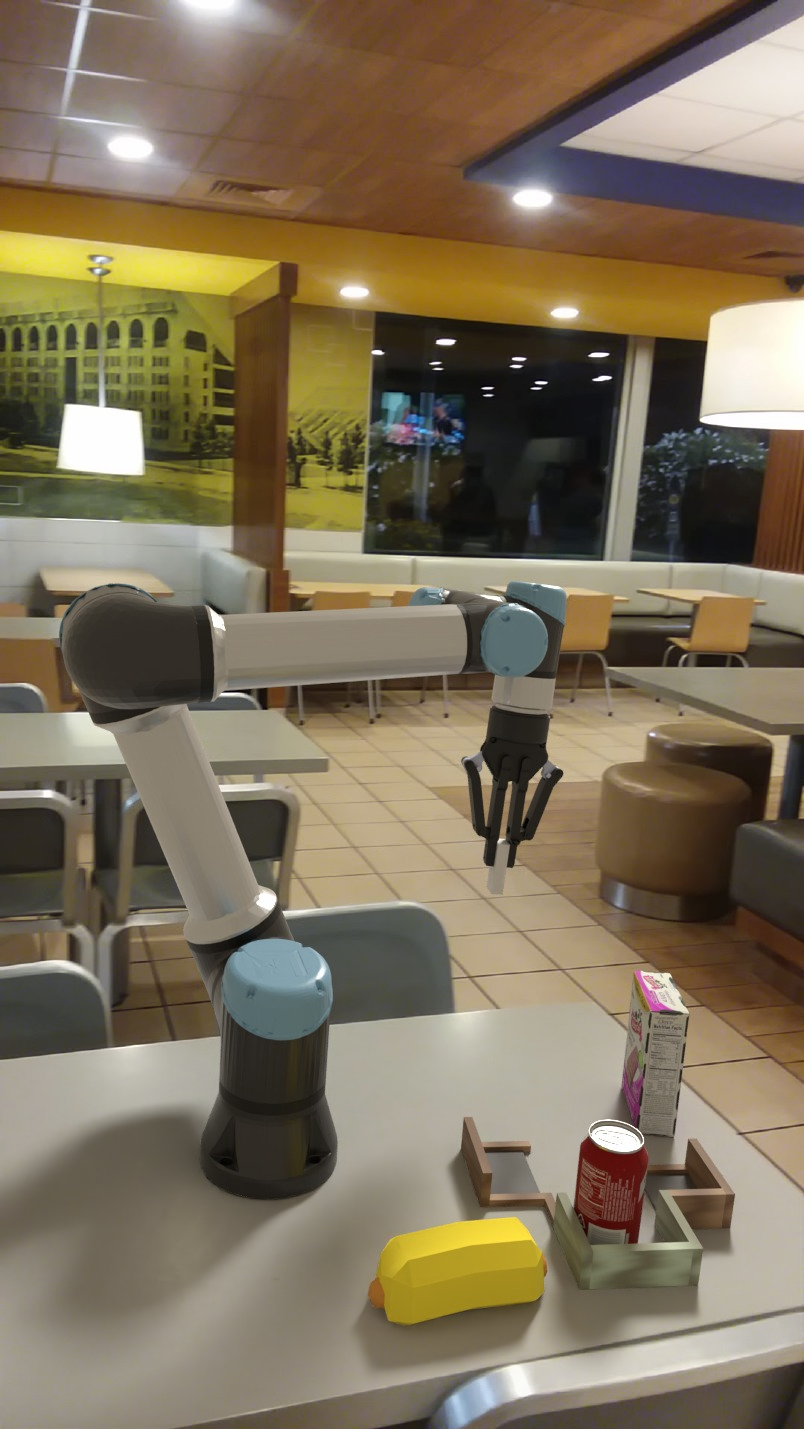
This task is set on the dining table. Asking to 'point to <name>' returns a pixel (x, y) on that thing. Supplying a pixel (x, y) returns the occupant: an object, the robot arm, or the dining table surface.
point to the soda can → (611, 1183)
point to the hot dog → (457, 1270)
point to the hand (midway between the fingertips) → (494, 890)
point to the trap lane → (680, 1206)
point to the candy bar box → (654, 1053)
